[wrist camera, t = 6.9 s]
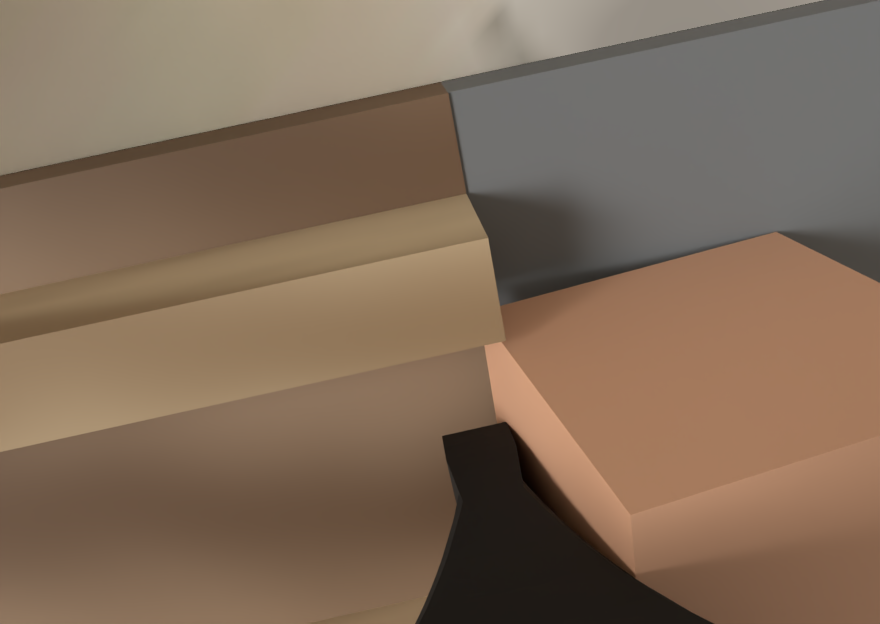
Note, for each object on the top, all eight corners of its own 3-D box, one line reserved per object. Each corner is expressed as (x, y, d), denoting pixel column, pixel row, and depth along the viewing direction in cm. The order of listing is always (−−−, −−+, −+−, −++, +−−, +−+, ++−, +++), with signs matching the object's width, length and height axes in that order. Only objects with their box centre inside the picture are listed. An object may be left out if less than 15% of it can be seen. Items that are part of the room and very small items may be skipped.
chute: (543, 644, 18) (581, 773, 15) (-197, 813, 17) (-298, 976, 15) (440, 82, 12) (467, 121, 10) (-612, 306, 12) (-886, 410, 9)
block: (772, 481, 15) (1003, 698, 11) (519, 562, 14) (656, 833, 10) (776, 231, 13) (1068, 375, 9) (478, 312, 12) (630, 515, 8)
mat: (903, 562, 18) (932, 594, 17) (543, 644, 18) (554, 681, 17) (946, -27, 13) (991, -23, 12) (440, 82, 12) (447, 92, 12)
